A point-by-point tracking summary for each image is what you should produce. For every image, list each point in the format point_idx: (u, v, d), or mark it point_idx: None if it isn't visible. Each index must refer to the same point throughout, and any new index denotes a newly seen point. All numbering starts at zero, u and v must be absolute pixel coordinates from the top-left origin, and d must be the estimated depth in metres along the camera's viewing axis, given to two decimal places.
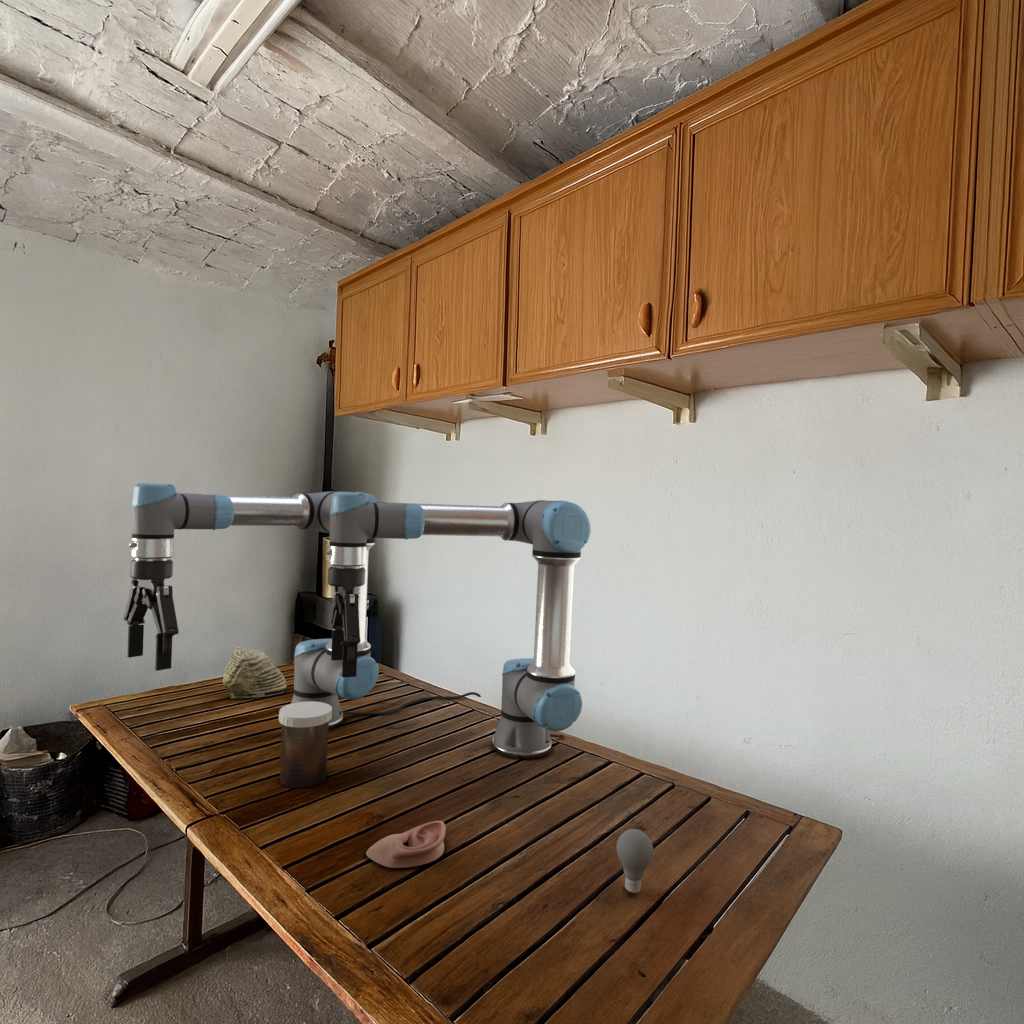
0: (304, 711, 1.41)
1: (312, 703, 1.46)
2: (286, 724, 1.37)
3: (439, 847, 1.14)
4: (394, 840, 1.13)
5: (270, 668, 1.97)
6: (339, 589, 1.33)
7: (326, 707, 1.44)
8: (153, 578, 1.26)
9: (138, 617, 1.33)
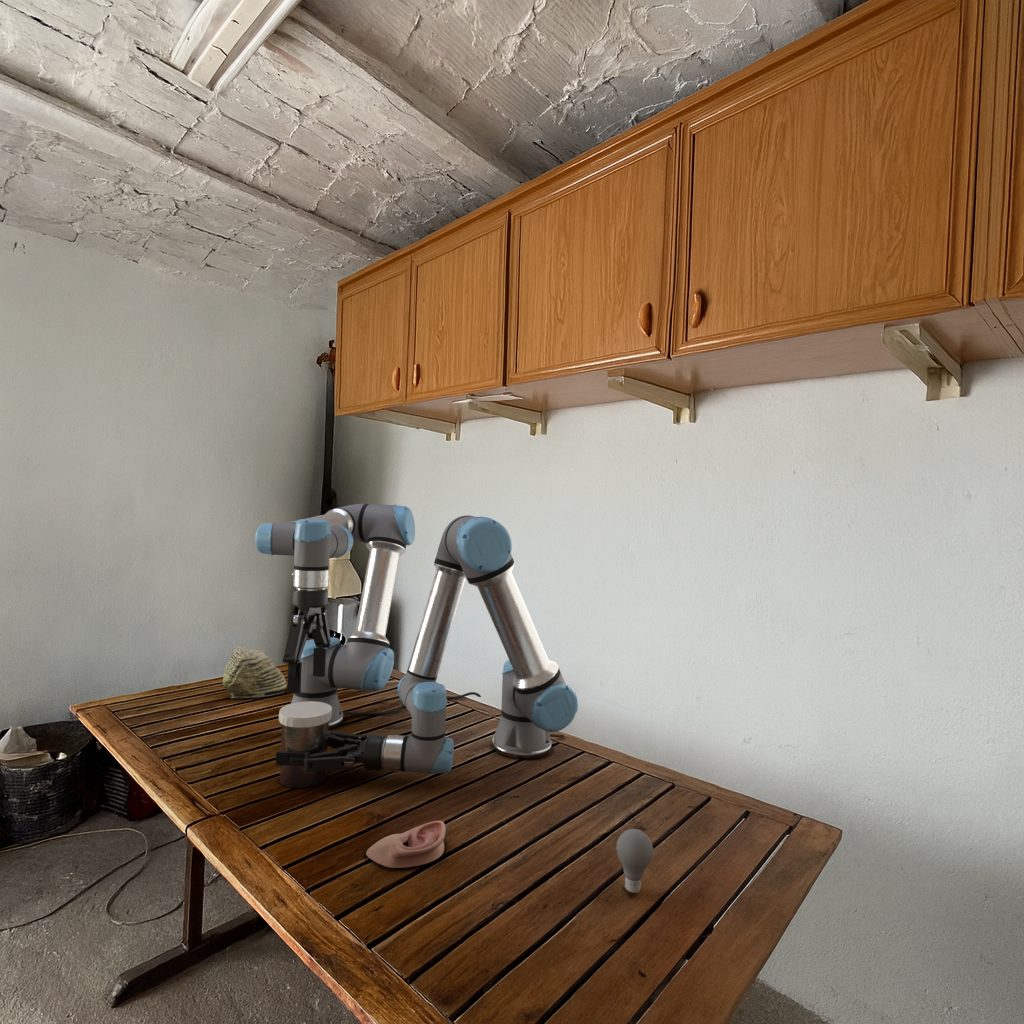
0: (304, 711, 1.41)
1: (312, 703, 1.46)
2: (286, 724, 1.37)
3: (439, 847, 1.14)
4: (394, 840, 1.13)
5: (270, 668, 1.97)
6: None
7: (326, 707, 1.44)
8: (298, 606, 1.38)
9: (319, 641, 1.47)
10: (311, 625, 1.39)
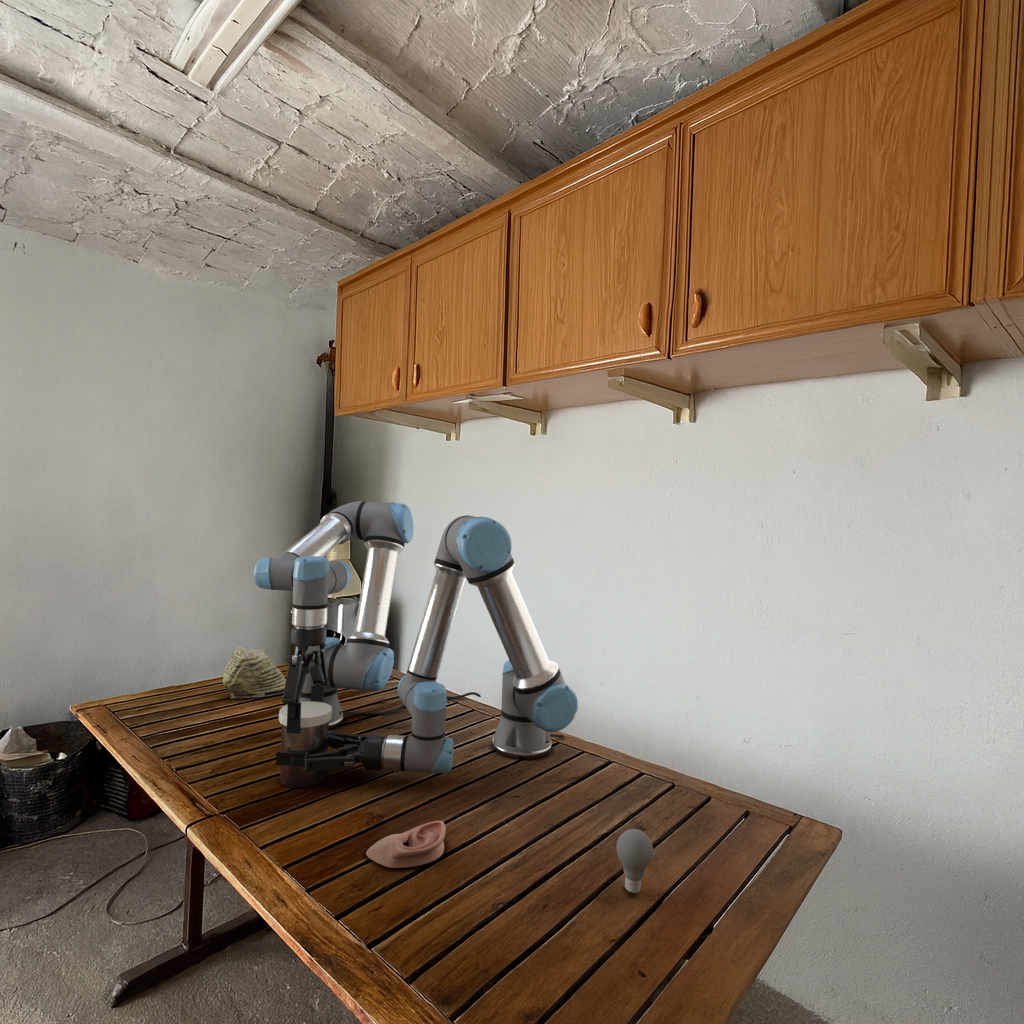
0: (304, 711, 1.41)
1: (312, 703, 1.46)
2: (286, 724, 1.37)
3: (439, 847, 1.14)
4: (394, 840, 1.13)
5: (270, 668, 1.97)
6: None
7: (326, 707, 1.44)
8: (296, 644, 1.38)
9: (317, 678, 1.47)
10: (310, 664, 1.39)
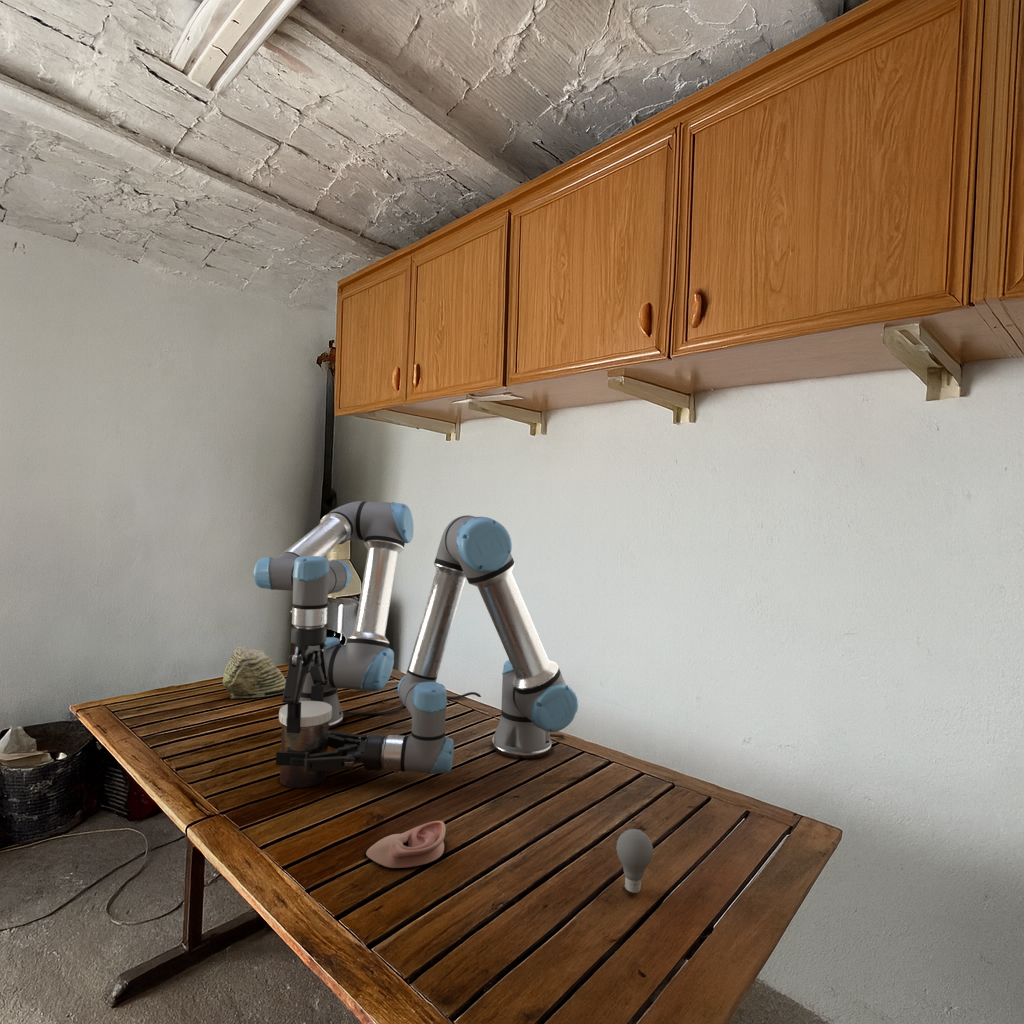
0: (312, 708, 1.42)
1: None
2: (323, 721, 1.39)
3: (439, 847, 1.14)
4: (394, 840, 1.13)
5: (270, 668, 1.97)
6: None
7: (305, 702, 1.46)
8: (296, 644, 1.38)
9: (317, 678, 1.47)
10: (310, 663, 1.39)
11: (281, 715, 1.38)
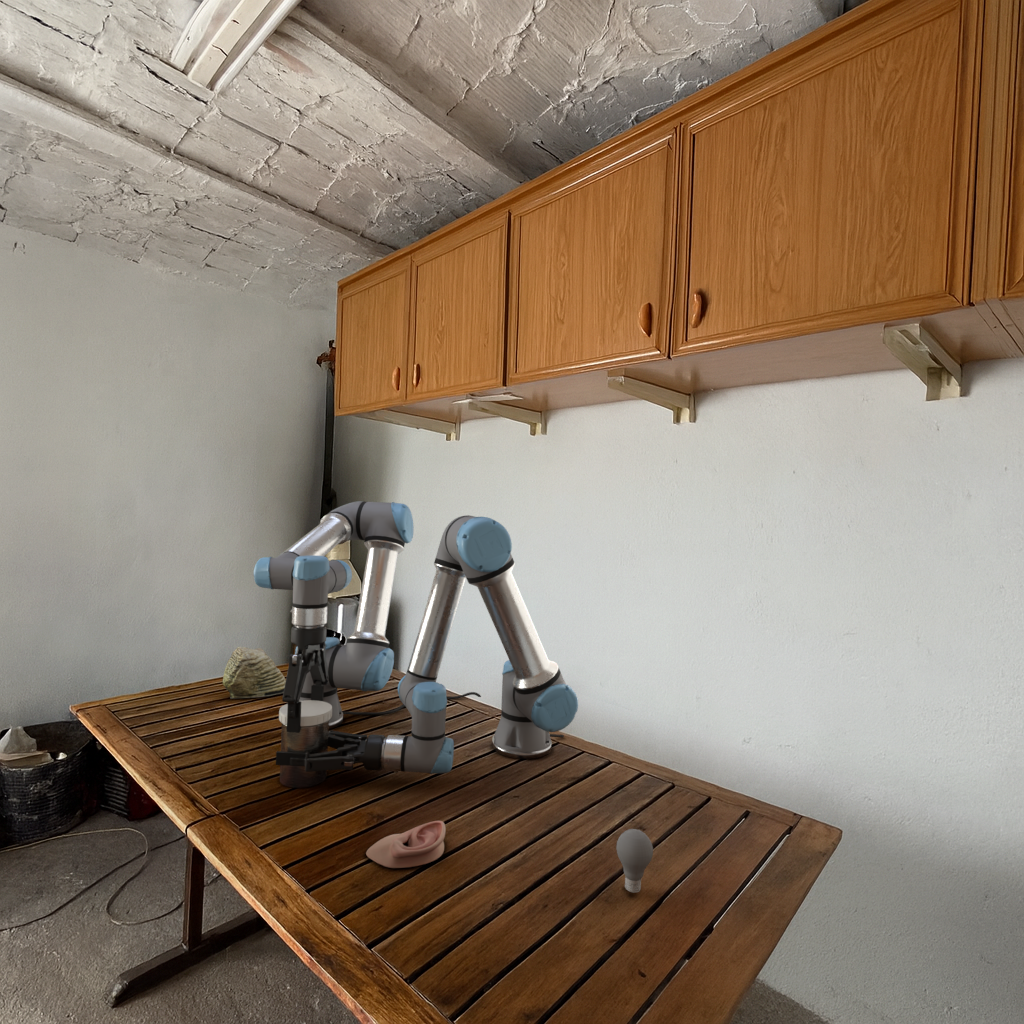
0: (308, 706, 1.43)
1: None
2: None
3: (439, 847, 1.14)
4: (394, 840, 1.13)
5: (270, 668, 1.97)
6: None
7: (285, 709, 1.41)
8: (296, 644, 1.38)
9: (317, 678, 1.47)
10: (310, 663, 1.39)
11: (315, 717, 1.38)
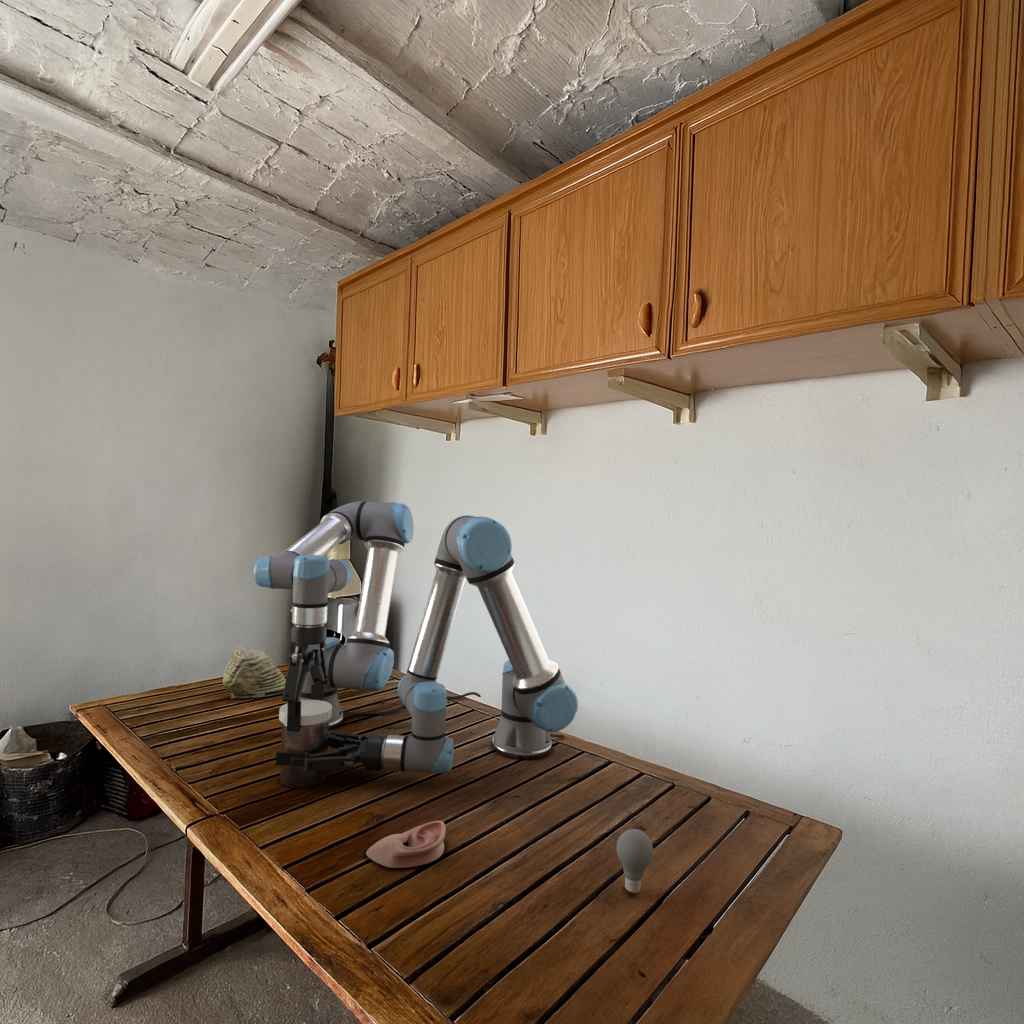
0: None
1: (322, 709, 1.41)
2: None
3: (439, 847, 1.14)
4: (394, 840, 1.13)
5: (270, 668, 1.97)
6: None
7: (304, 714, 1.38)
8: (296, 643, 1.38)
9: (317, 677, 1.47)
10: (310, 662, 1.39)
11: None
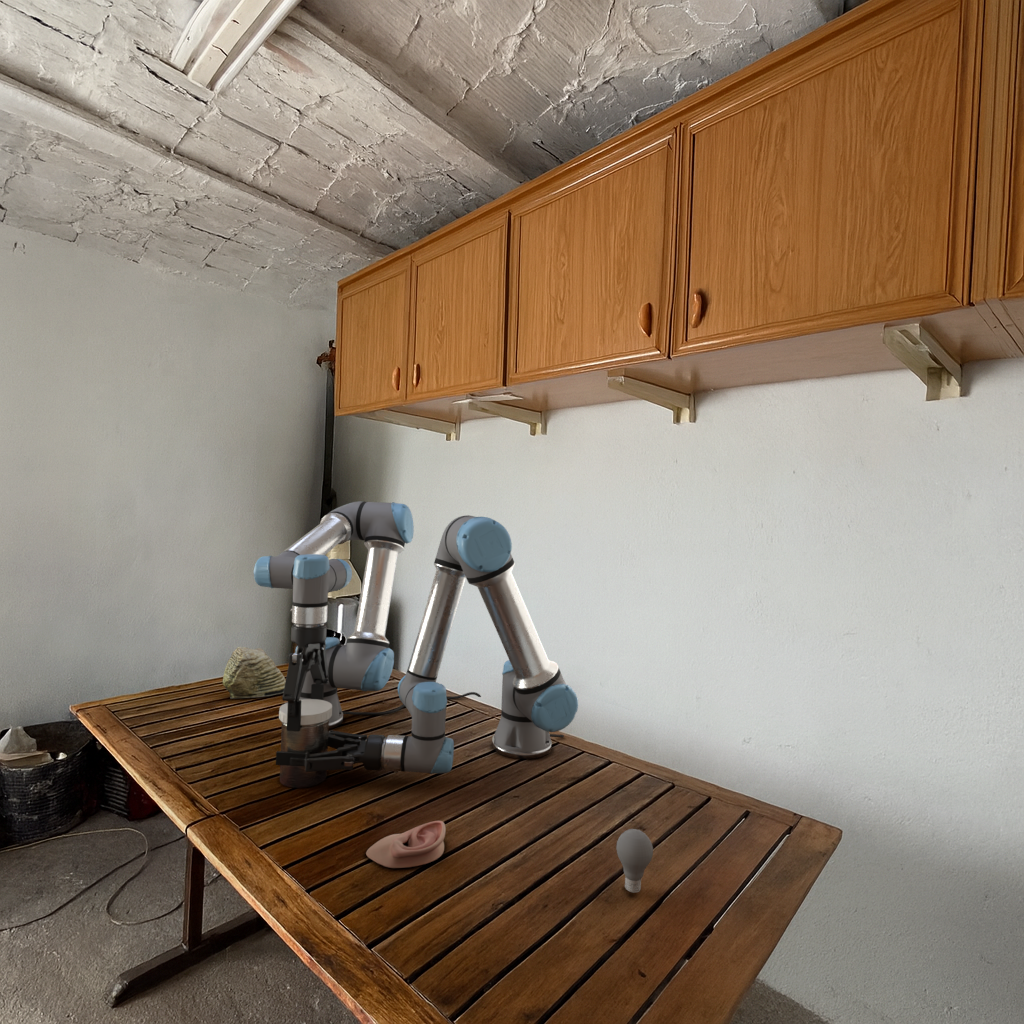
0: (303, 708, 1.41)
1: (316, 701, 1.46)
2: (282, 720, 1.38)
3: (439, 847, 1.14)
4: (394, 840, 1.13)
5: (270, 668, 1.97)
6: None
7: (326, 706, 1.43)
8: (296, 642, 1.38)
9: (317, 676, 1.47)
10: (310, 662, 1.39)
11: None
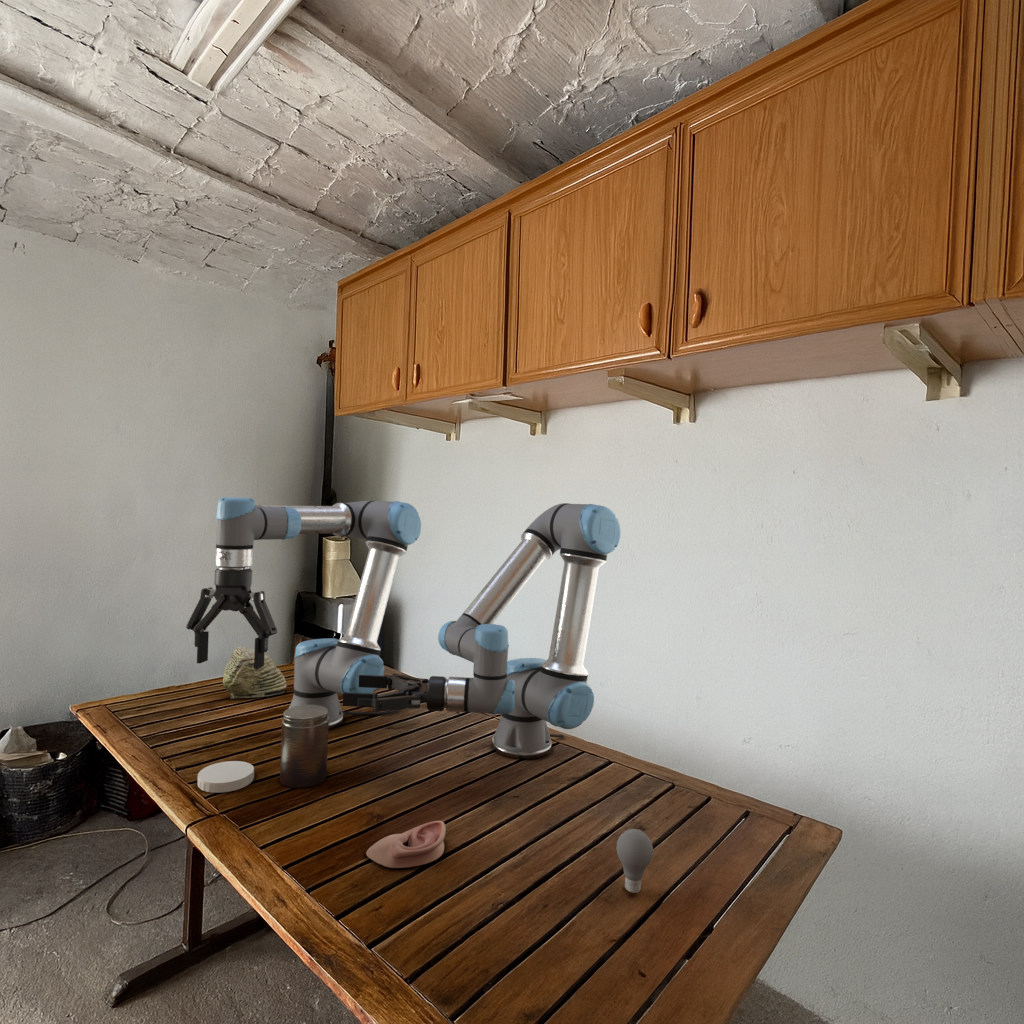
0: (232, 772, 1.39)
1: (211, 768, 1.40)
2: (237, 788, 1.35)
3: (439, 847, 1.14)
4: (394, 840, 1.13)
5: (270, 668, 1.97)
6: None
7: (232, 763, 1.43)
8: (245, 585, 1.37)
9: (207, 624, 1.40)
10: None
11: (197, 777, 1.36)
